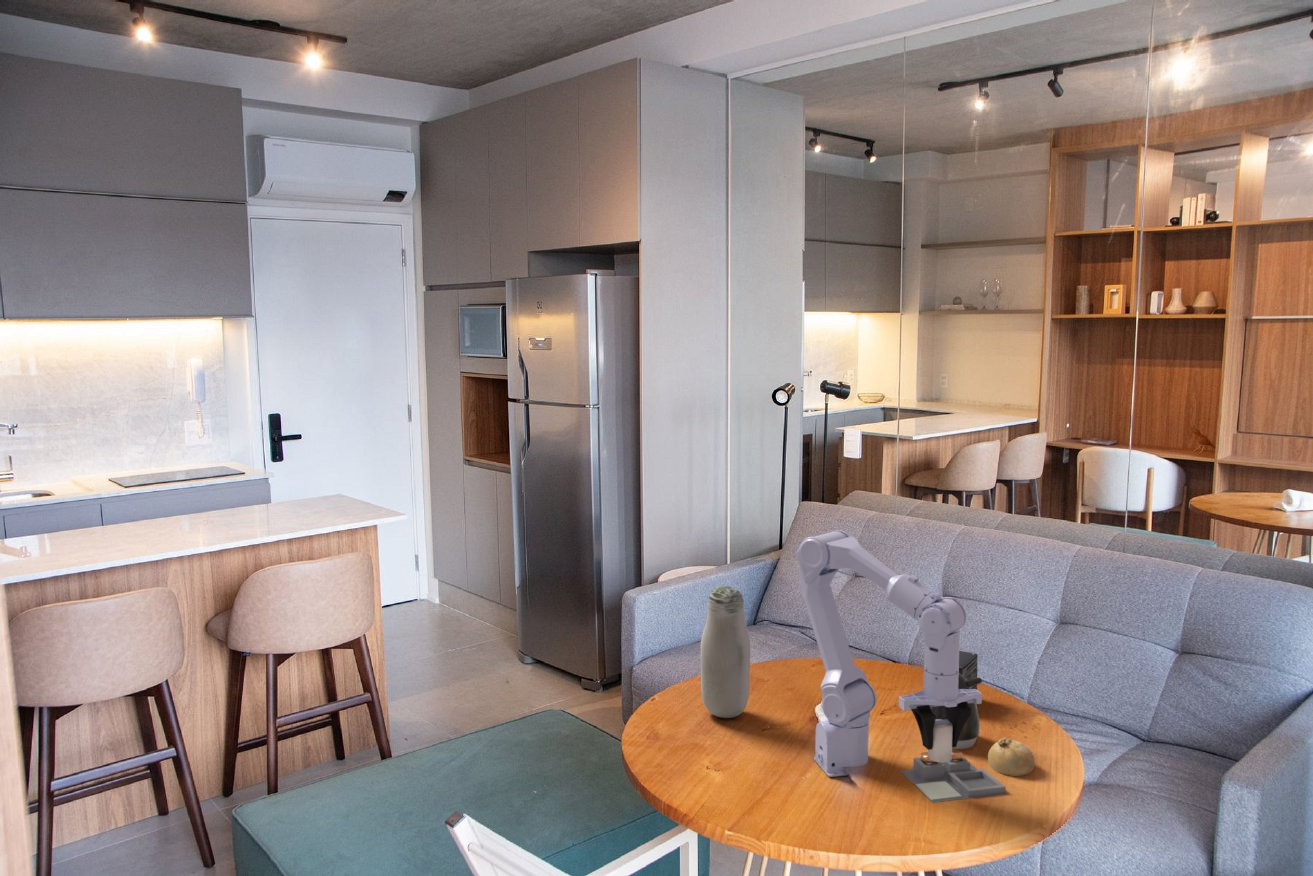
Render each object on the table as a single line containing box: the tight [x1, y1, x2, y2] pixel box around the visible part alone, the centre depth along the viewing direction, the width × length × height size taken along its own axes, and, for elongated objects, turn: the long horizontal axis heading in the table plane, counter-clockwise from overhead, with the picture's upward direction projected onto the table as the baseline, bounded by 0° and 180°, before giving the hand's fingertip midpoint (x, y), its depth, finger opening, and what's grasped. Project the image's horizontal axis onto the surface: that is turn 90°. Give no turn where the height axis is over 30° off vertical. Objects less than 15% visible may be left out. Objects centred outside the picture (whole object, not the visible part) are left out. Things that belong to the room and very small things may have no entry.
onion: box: [987, 736, 1036, 777], centre depth 172 cm, size 8×8×7 cm
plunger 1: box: [920, 751, 935, 765], centre depth 169 cm, size 3×3×3 cm
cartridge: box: [927, 719, 953, 763], centre depth 162 cm, size 4×4×6 cm
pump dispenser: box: [930, 673, 983, 750], centre depth 183 cm, size 10×10×15 cm
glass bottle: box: [700, 585, 751, 719], centre depth 199 cm, size 10×10×28 cm
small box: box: [959, 650, 978, 690], centre depth 205 cm, size 11×6×10 cm, turn 144°
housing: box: [899, 756, 1008, 804], centre depth 166 cm, size 14×12×4 cm
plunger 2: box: [951, 749, 964, 762], centre depth 170 cm, size 3×3×3 cm
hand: (939, 746), depth 162 cm, fingers closed on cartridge, 4 cm apart
